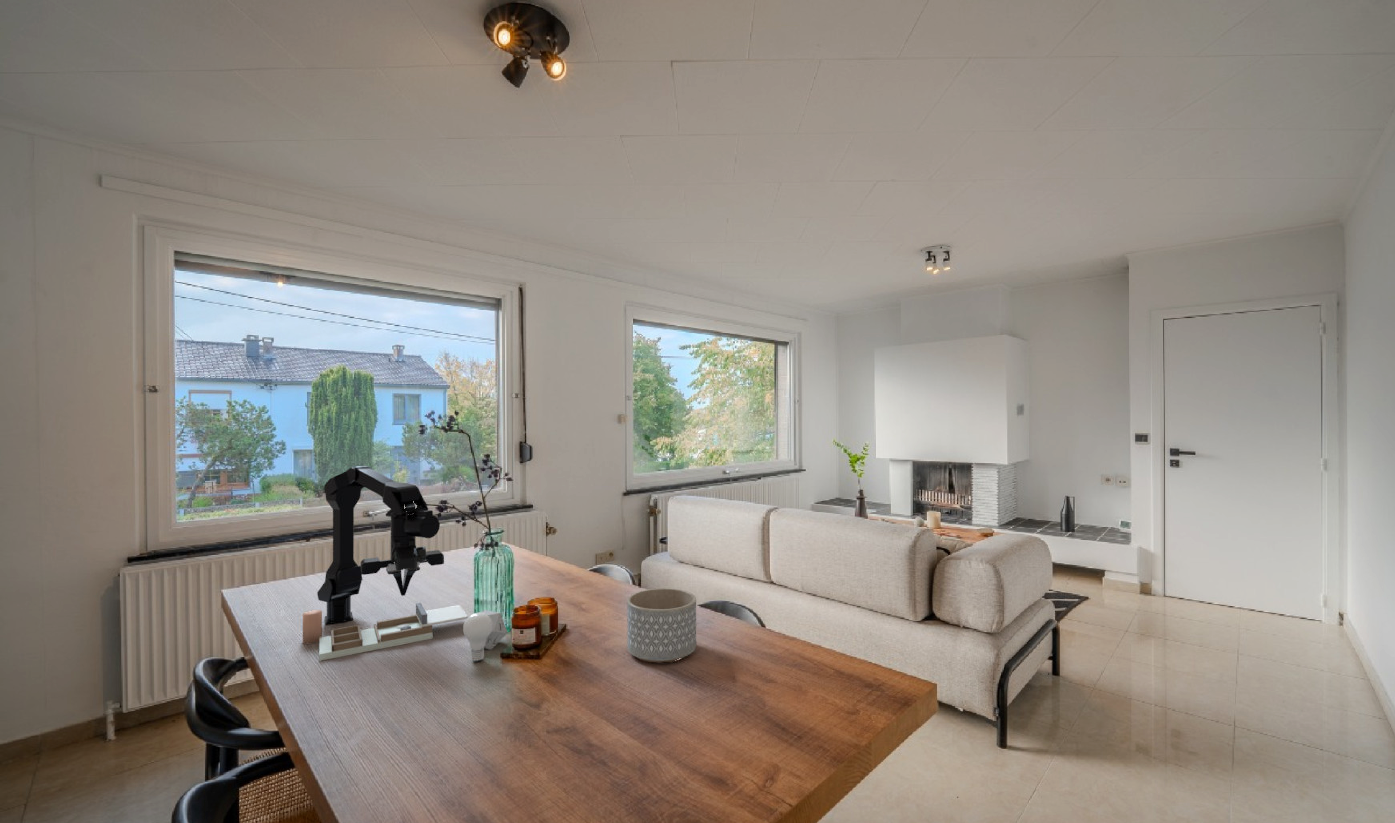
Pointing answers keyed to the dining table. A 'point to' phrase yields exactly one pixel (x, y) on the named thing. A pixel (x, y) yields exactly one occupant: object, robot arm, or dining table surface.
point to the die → (495, 629)
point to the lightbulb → (477, 633)
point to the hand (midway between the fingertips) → (403, 595)
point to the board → (373, 637)
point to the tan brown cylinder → (312, 626)
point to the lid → (439, 615)
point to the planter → (661, 624)
